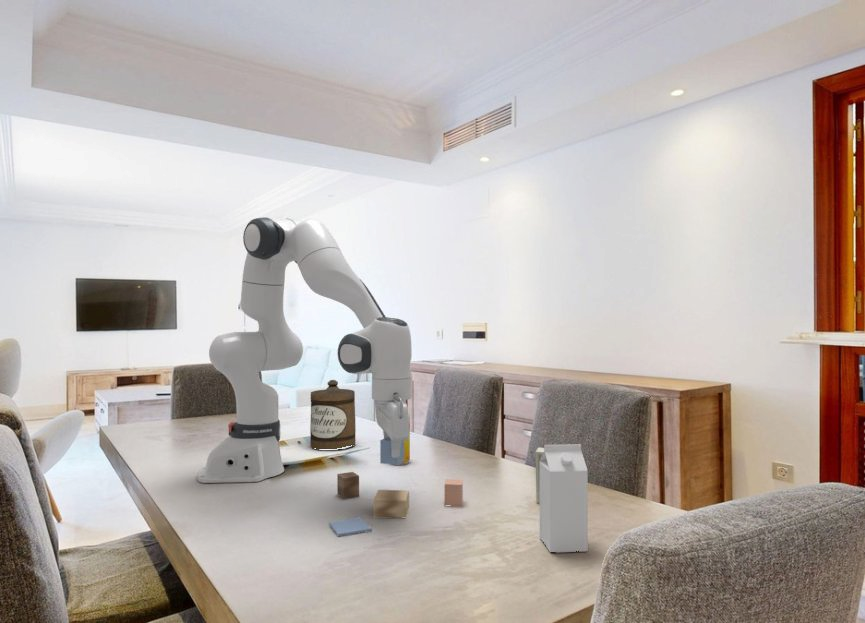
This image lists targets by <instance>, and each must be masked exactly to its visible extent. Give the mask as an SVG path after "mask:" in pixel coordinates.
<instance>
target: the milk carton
mask: <svg viewBox="0 0 865 623" xmlns="http://www.w3.org/2000/svg"><path fill="white" fill-rule="evenodd" d="M543 448H544V453H543V455H542V457H541V459H540V461H539V462H540V503H539V538H540V540H541V541H542V543H543V542H544V543H543V545H544V546H545V545H546V546H545V547H546V549H547V550H548V551H549V553H551V552H556V553H576V551H577V553H578V551H579V552H582V553H583V552H588V548H589V547H588V546H589V545H588V544H589V542H588V540H589V539H588V538H589V535H588V533H589V530H588V529H589V528H588V527H589V524H588V521H589V518H588V516H589V515H588V514H589V511H588V510H589V509H588V507H589V506H588V505H589V502H588V501H589V499H588V498H589V497H588V493H589V492H588V488H589V487H588V485H589V484H588V483H589V482H588V479H589V478H588V473H589V472H588V467H587V464H586V461H585V458H584V454H583V452H582V444H581V443H580V444H577V443H575V444H574V443H573V444H571V443H570V444H544V447H543Z"/></svg>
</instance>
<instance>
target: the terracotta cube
mask: <svg viewBox="0 0 865 623" xmlns="http://www.w3.org/2000/svg"><path fill="white" fill-rule="evenodd" d="M463 487H464V480H463V479H455V478H445V481H444V500H443V501H444V505H451V506H450V507H461V506H462V507H463V503H462V502H463V499H464V497H463V496H464V494H463V492H464V488H463Z"/></svg>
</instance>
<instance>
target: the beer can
mask: <svg viewBox="0 0 865 623" xmlns="http://www.w3.org/2000/svg"><path fill="white" fill-rule="evenodd" d="M408 414H409V412H408ZM410 420H411V416H410V414H409V438H408V440H405V441H404V461H402V462H401V463H399V464H398V465H397V466H405V465H408V464H409V462H410V460H411V446H410V445H411V443H410V440H411V438H410V436H411V434H410V433H411V430H410V429H411V428H410V427H411V422H410ZM392 465H393V466H395V465H394V464H392Z"/></svg>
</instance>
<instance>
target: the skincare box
mask: <svg viewBox="0 0 865 623" xmlns="http://www.w3.org/2000/svg"><path fill="white" fill-rule="evenodd" d="M534 452H535V454H534V455H535V458H534V459H535V490H536V492H535V495H536V496H535V497H536V500H535V501H536V504H540V462H539V461H540V459H541V457H542V455H543V453H544V447H537V448H536V450H535V451H534Z"/></svg>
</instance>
